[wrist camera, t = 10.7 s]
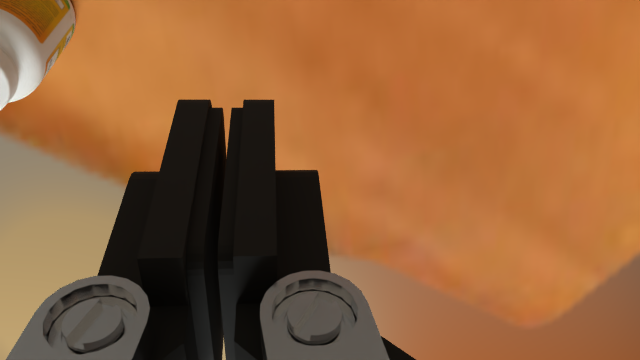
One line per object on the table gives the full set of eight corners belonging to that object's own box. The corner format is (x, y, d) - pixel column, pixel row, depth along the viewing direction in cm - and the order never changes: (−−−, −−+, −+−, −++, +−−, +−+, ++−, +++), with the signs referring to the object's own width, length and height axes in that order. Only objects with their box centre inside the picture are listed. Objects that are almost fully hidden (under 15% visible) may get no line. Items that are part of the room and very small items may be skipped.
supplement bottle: (-28, -36, 33) (-118, 27, 26) (67, -33, 34) (7, 29, 26) (-2, 50, 37) (-74, 129, 29) (85, 51, 37) (36, 129, 29)
